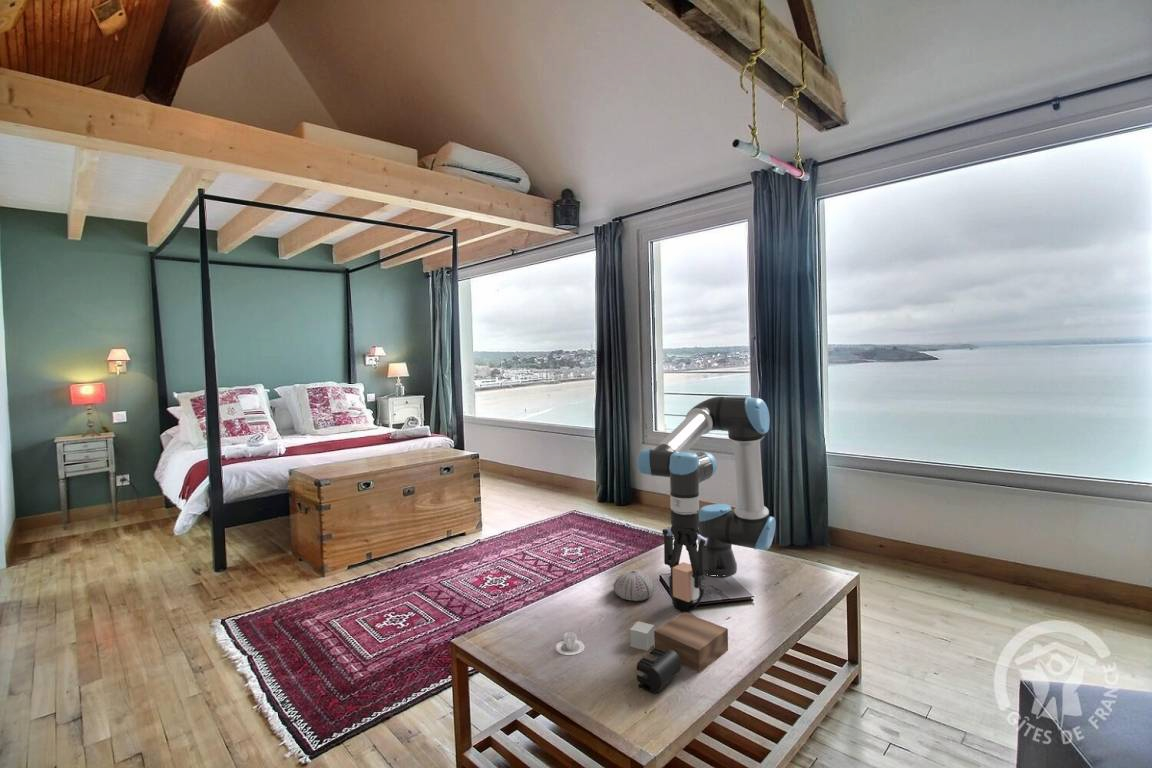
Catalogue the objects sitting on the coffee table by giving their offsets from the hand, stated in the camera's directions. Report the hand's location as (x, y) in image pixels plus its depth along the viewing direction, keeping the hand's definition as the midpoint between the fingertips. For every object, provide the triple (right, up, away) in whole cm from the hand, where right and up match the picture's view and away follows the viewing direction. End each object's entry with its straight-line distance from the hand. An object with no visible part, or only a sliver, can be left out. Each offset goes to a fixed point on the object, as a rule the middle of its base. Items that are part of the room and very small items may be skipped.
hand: (686, 594), depth 149 cm
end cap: (-9, -17, -13) cm, 23 cm away
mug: (+5, -14, +23) cm, 27 cm away
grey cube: (-11, -15, +4) cm, 20 cm away
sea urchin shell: (-10, -13, +35) cm, 39 cm away
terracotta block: (0, 0, 0) cm, 0 cm away
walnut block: (+1, -15, 0) cm, 15 cm away
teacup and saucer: (-29, -16, +5) cm, 33 cm away
